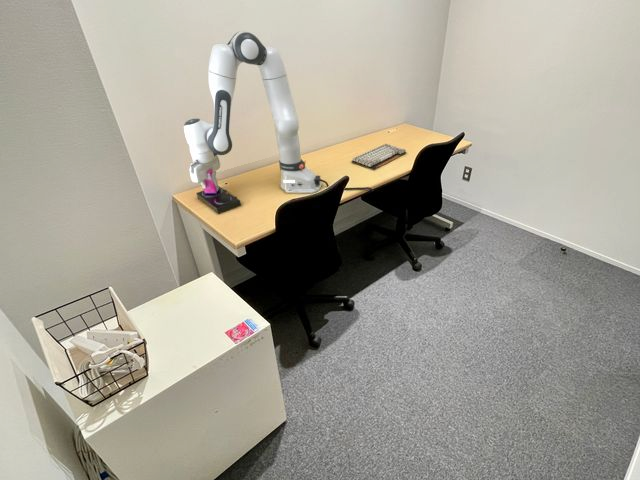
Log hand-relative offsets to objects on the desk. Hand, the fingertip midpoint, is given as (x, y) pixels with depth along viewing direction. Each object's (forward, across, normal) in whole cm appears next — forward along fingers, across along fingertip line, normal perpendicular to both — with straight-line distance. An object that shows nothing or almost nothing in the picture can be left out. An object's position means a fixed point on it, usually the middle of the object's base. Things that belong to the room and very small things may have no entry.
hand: (209, 184), depth 162 cm
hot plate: (+8, -3, -5) cm, 10 cm away
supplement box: (+4, 0, 0) cm, 4 cm away
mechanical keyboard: (+8, +74, -76) cm, 106 cm away
